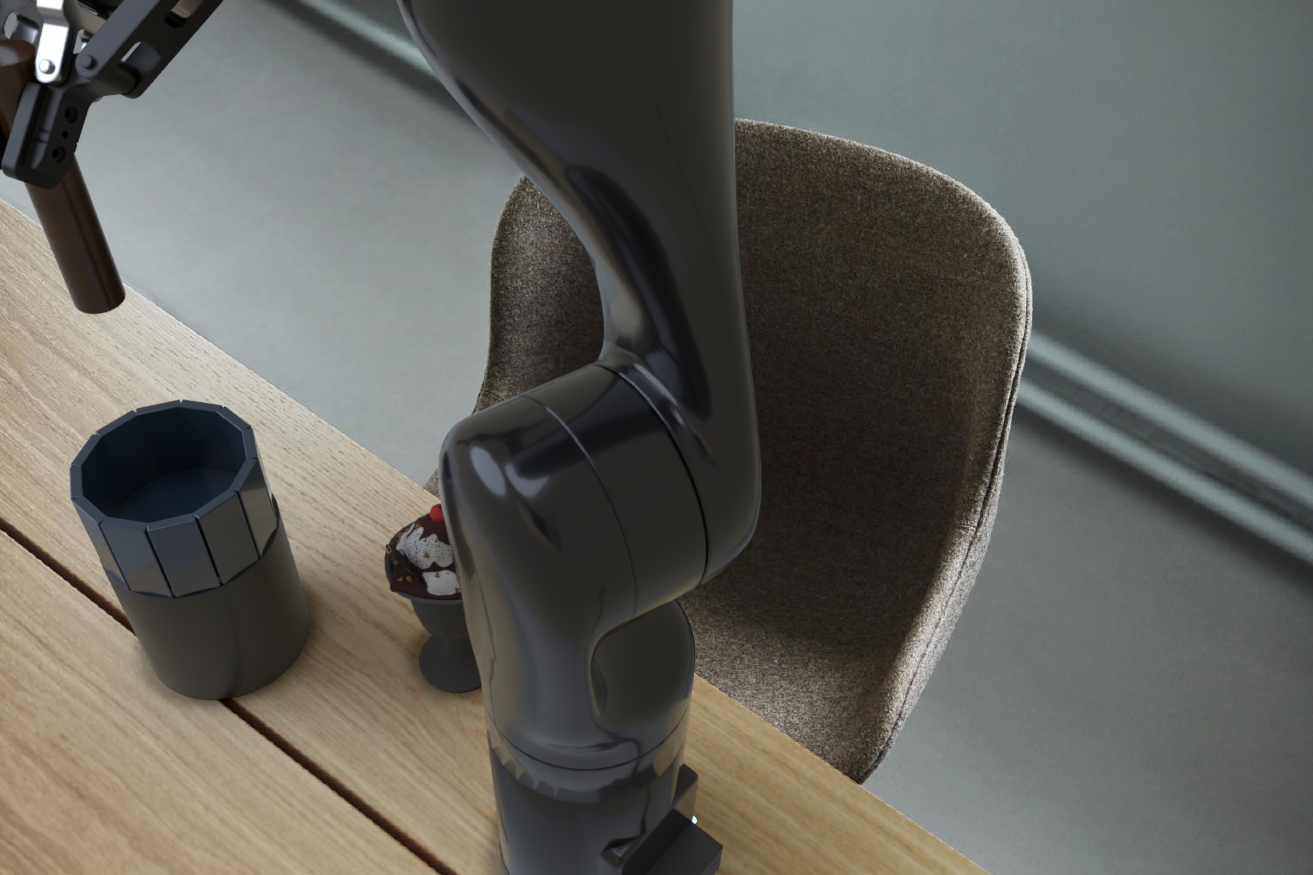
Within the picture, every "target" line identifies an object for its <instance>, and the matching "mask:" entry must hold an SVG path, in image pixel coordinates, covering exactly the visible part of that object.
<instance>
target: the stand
mask: <svg viewBox="0 0 1313 875" xmlns="http://www.w3.org/2000/svg"><path fill="white" fill-rule="evenodd" d="M272 495H273V501H274V506H275V511H276V516H277V521H278V522H277V527H276V529H275V531H274V533H273V535H272V537H271V539H270V541H269V543H268V545H267V547H266V549H265V551H264V553H263V554H262V556H261V557H258V561H256V562H255V563H253V564H252V565H251V566H249V567H248V568H246V569H245V570H244V571H242V572H241V573H239V574H238V575H237V576H235V577H234V578H233V579H231V580H230V581H228V582H227V583H226V584H220V587H216V588H212V589H208V590H204V591H200V592H196V593H192V594H188V595H184V596H180V597H175V596H173V598H170V597H164V596H157V595H151V594H145V593H139V592H133V591H131V589H130V590H128V589H127V588H126V587H125V586H124V585H123V584H122V583H121V582H119V581H118V580H117V579H116V578H115V577H114V576H113V575H112V574H111V573H110V572H109V571H107V570H106V569H105V568H104V566H103V564H102V562H101V560H100V559H99V562H100V564H101V567H102V570H103V572H104V573H105V575H106V577H107V579H108V581H109V584H110V586H111V587H112V589H113V592H114V594H115V596H116V597H117V600H118V601H119V604H120V606H121V608H122V610H123V612H124V614H125V616H126V619H127V620H128V622H129V624H130V626H131V628H132V630H133V632H134V635H135V636H136V638H137V640H138V642H139V644H140V646H141V649H142V651H143V652H144V655H145V656H146V658H147V659H146V660H147V661H148V662H149V665H150V667H151V669H152V670H153V672H154V673H155V675H156V677H157V678H158V679H159V681H161V683H162V684H164V685H165V686H166V687H168V688H169V689H170V690H172V691H174V692H176V693H178V694H181V695H183V696H186V697H188V698H193V699H196V700H197V699H198V700H207V701H209V700H213V701H214V700H225V699H231V698H236V697H240V696H243V695H246V694H249V693H251V692H254V691H256V690H259V689H261V688H263V687H264V686H267V685H268V684H270V683H271V682H273V681H275V680H276V679H277V678H278V677H280V676H281V675H282V674H283V673H284V672H285V671H287V669H289V667H290V666H292V664H293V663H294V662H295V661H296V660H297V658H298V657H299V655H300V654H301V652H302V651H303V648H304V647H305V644H306V642H307V639H308V637H309V633H310V628H311V613H310V609H309V606H308V602H307V598H306V595H305V592H304V591H305V590H304V588H303V585H302V582H301V579H300V578H301V577H300V574H299V572H298V568H297V564H296V561H295V557H294V554H293V551H292V548H291V545H290V541H289V538H288V534H287V531H286V527H285V525H284V521H283V517H282V514H281V510H280V507H279V504H278V501H277V499H276V497H275V495H274V493H273V492H272Z"/></svg>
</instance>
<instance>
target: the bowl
mask: <svg viewBox="0 0 1313 875" xmlns="http://www.w3.org/2000/svg"><path fill="white" fill-rule="evenodd" d="M68 472H69V493H70V496H69V498H70V501H71V503H72V505H73V507H74V510H75V511H76V513H77V515H78V517H79V519H80V521H81V524H82V525H83V527H84V529H85V532H86V534H87V536H88V537H89V539H90V542H91V544H92V545H93V546H92V547H94V549H95V552H96V554H97V556H98V558H99V561H100V560H101V562H102V564H103V566H104V568H105V569H106V570H107V571H109V572H110V573H111V574H112V575H113V576H114V577H115V578H116V579H117V580H118V581H119V582H121V583H122V584H123V585H124V586H125V587H126V588H127V589H128V590H130V589H131V591H133V592H139V593H145V594H151V595H157V596H164V597H170V598H173V596H175V597H180V596H184V595H188V594H192V593H196V592H200V591H204V590H208V589H212V588H216V587H220V584H226V583H227V582H228V581H230V580H231V579H233V578H234V577H235V576H237V575H238V574H239V573H241V572H242V571H244V570H245V569H246V568H248V567H249V566H251V565H252V564H253V563H255V562H256V561H258V557H261V556H262V554H263V553H264V551H265V549H266V547H267V545H268V543H269V541H270V539H271V537H272V535H273V533H274V531H275V529H276V527H277V522H278V521H277V516H276V511H275V506H274V501H273V495H274V494H273V495H272V493H273V491H272V490H271V488H272V487H271V485H270V481H269V479H268V476H267V472H266V469H265V465H264V461H263V458H262V455H261V452H260V448H259V445H258V441H257V438H256V435H255V432H254V428H252V425H251V424H249V423H248V422H247V421H245V420H244V419H243V418H242V417H240V416H239V415H237V414H236V413H235V412H234V411H233V410H231V409H229V407H227V406H225V405H224V406H223V405H222V404H217V403H211V402H204V401H197V400H191V399H181V400H180V399H175V400H170V401H165V402H160V403H155V404H151V405H145V406H142V407H137V408H135V410H134V409H131V410H129V411H128V412H126V413H124V414H123V415H121V416H119V417H117V418H116V419H114V420H112V421H111V422H109V423H107V424H106V425H104V426H102V427H100V428H99V429H97V430H95V431H94V433H92V434H91V435H90V436H89V438H88V439H87V440H86V442H85V443H84V445H83V446H82V448H81V449H80V450H79V451H78V453H77V454H76V456H75V457H74V459H73V460H72V461H71V463H70V467H69V471H68ZM101 562H100V563H101ZM102 564H101V565H102Z"/></svg>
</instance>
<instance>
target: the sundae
mask: <svg viewBox="0 0 1313 875" xmlns="http://www.w3.org/2000/svg"><path fill="white" fill-rule="evenodd" d="M383 560H384V562H383V563H384V572H385V577H386V580H387V582H388V584H389V590H390V592H391V593H396V594H397V595H399V596H400V597H402V598H404V599H407V600H409V601H410V603H411V606H412V608H413V611H414V613H415V615H416V617H417V618H418V620H419V622H420V624H421V625H422V627H423V628H424V630H426V632H427V633H428V634H430V636H429V638H428V639H427V640H426V641H425V642H424V644H423V645H422V648H421V650H420V654H419V661H418V662H419V667H420V671H421V674H422V675H423V677H424V678H425V679H426V681H427V682H428V683H429V684H430V685H432V686H434V687H435V688H437V689H439V690H442V691H445V692H450V693H463V692H468V691H472V690H475V689H477V688H479V687H481V679H480V674H479V670H478V667H477V663H476V660H475V656H474V652H473V649H472V645H471V642H470V638H469V634H468V629H467V625H466V621H465V616H464V611H463V605H462V599H461V592H460V586H459V582H458V577H457V572H456V567H455V562H454V558H453V554H452V550H451V546H450V542H449V537H448V533H447V529H446V525H445V521H444V516H443V511H442V506H441V503H436V504H434V505H432V506H431V508H430V511H429V512H427V513H424V514H423V515H420V516H419V517H418V518H416V520H414V521H412V522H410V523H409V524H407V525H405V526H403V527H402V528H401V529H400V530H399V531H397V532H396V533H395V534H394V535H393V536H392V537H391V539H390V540H389V542H388V543H386V544H385V554H384V558H383Z"/></svg>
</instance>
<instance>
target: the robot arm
mask: <svg viewBox="0 0 1313 875" xmlns="http://www.w3.org/2000/svg"><path fill="white" fill-rule="evenodd" d="M223 2H224V0H0V40H5V39H20V40H25V41H28V42H30V43H32V44H33V45H34V46H35V48H36V50H37V56H36V60H35V65H34V73H35V76H36V78H37V79H38V80H39V81H40V82H39V84H36V83H33V82H30V81H26V84H25V88H24V91H23V94H22V97H21V101H20V104H19V107H18V110H17V114H16V117H15V120H14V124H13V127H12V130H11V133H10V137H9V140H8V143H7V141H6V138H5V136H4V133H3V131H2V128H1V126H0V171H2V173H3V175H4V176H6V177H8V178H10V179H13V180H16V181H19V182H22V183H24V182H25V183H28V184H31V185H34V186H37V187H40V188H44V189H47V190H51V189H54V188H55V187H56V186H57V185H58V183H59V181H60V178H62V179H63V178H64V176H65V175H66V174H67V172H68V171H69V169H70V168H71V164H72V161H73V158H74V153H76V151H77V147H78V144H79V142H80V140H81V139H80V138H81V135H82V132H83V128H84V126H85V122H86V119H87V116H88V112H89V109H90V107H91V105H92V104H95V103H99V102H100V101H101V100H102V99H103V98H104V97H109V96H110V97H111V96H118V95H121V96H123V97H124V98H127V99H129V100H135V99H138V98H140V97H141V96H142V95H144V93H145V92H146V91H147V90H148V88H150V86H151V85H152V84H153V82H155V81H156V79H157V78H158V77H159V76H160V75H161V73H162V72H163V71H164V70H165V69H166V68H167V67H168V65H169V64H170V63H171V62H172V61H173V60H174V59H175V57H176V56H177V55H178V54H179V53H180V52H181V51H182V50H183V48H184V47H185V46H186V45H187V44H188V42H190V41H191V39H192V38H193V36H195V34H196V33H197V32H198V31H199V30H200V29H201V28H202V26H203V25H204V24H205V23H206V22H207V21H208V20H209V18H210V17H211V16H212V15H213V14H214V12H216V10H217V9H218V8H219V7H220V5H221V4H222V3H223ZM396 4H397V6H398V9H399V12H400V15H401V17H402V21H403V23H404V25H405V27H406V29H407V31H408V33H409V34H410V36H411V38H412V40H413V41H414V44H415V46H416V47H417V49H418V51H419V52H420V53H421V55H422V57H423V59H424V60H425V61H426V63H427V65H428V66H429V68H430V69H431V71H432V72H433V73H434V75H435V76H436V78H438V80H439V81H440V83H441V84H442V85H443V87H444V88H445V89H446V90H447V92H448V93H449V94H450V96H452V97H453V99H454V100H455V101H456V102H457V103H458V104H459V106H460V107H461V108H462V109H463V110H464V112H465V113H466V114H467V115H468V116H469V117H470V119H471V120H472V121H473V122H474V124H476V125H477V127H478V128H479V129H480V130H481V131H482V132H483V133H484V134H485V135H486V136H487V137H488V138H489V139H490V140H491V141H492V142H493V143H494V145H495V146H496V147H497V148H498V149H499V150H500V151H501V152H502V153H503V154H504V155H505V156H506V157H507V158H508V159H509V160H510V162H511V163H512V164H513V165H515V167H517V169H518V170H519V171H520V172H522V174H523V175H524V176H525V177H526V178H527V179H528V180H529V181H530V182H531V183H532V184H533V185H534V186H535V187H536V188H537V189H538V191H540V192H541V193H542V194H543V196H544V197H545V199H547V201H548V202H549V203H550V204H551V205H552V206H553V207H554V209H555V210H556V211H557V212H558V213H559V214H560V216H561V217H562V218H563V219H564V220H565V221H566V223H567V225H568V226H569V227H570V229H571V230H572V231H573V233H574V234H575V235H576V237H577V239H578V241H579V242H580V243H581V244H582V246H583V247H584V250H585V251H586V253H587V255H588V258H589V260H590V264H591V266H592V268H593V272H594V276H595V279H596V283H597V284H596V285H597V287H598V292H599V298H600V303H601V309H602V310H601V311H602V319H603V320H602V321H603V342H602V347H601V350H600V352H599V355H598V356H597V358H596V360H595V361H593V362H591V363H588V364H587V365H585V366H581V367H579V368H575V370H572V371H569V372H567V373H565V374H563V375H560V376H558V377H556V378H553V379H550V380H548V381H546V382H544V383H542V384H539V385H536V386H535V387H532V388H530V389H527V390H525V391H523V392H521V393H518V394H516V395H513V396H512V397H510V398H506V399H505V400H502V401H500V402H498V403H495V404H493V405H491V406H489V407H486V408H484V409H482V410H479V411H477V412H475V413H473V414H471V415H468V416H466V417H464V418H463V419H461V420H459V421H458V422H457V423H456V424H454V425H453V426H452V427H451V428H450V429H449V431H448V432H447V434H446V435H445V437H444V439H443V441H442V444H441V447H440V451H439V455H438V464H437V478H438V479H437V480H438V481H437V482H438V495H439V500H440V504H441V506H442V511H443V516H444V521H445V525H446V529H447V533H448V537H449V542H450V546H451V550H452V554H453V558H454V562H455V567H456V572H457V577H458V582H459V586H460V592H461V599H462V605H463V611H464V616H465V621H466V625H467V629H468V634H469V638H470V642H471V645H472V649H473V652H474V656H475V660H476V663H477V667H478V670H479V674H480V679H481V686H480V687H481V694H482V703H483V710H484V718H485V726H486V738H487V745H488V754H489V760H490V762H489V763H490V769H491V777H492V778H491V779H492V786H493V794H494V802H495V809H496V810H495V811H496V818H497V828H498V834H499V856H500V863H501V864H500V865H501V870H502V874H503V875H716V873H718V871H719V870H720V865H721V860H722V855H723V849H724V845H723V844H722V843H721V842H719V841H718V840H716V839H715V838H714V837H713V836H712V835H710V834H709V833H708V832H706V831H705V830H704V829H702V828H701V827H700V826H698V825H697V824H696V823H697V821H698V820H697V818H696V817H695V815H694V814H695V809H696V802H697V795H698V789H699V780H700V777H699V774H698V772H697V771H695V770H694V769H693V768H692V767H690V766H689V765H687V764H686V763H684V760H685V751H686V743H687V734H688V727H689V720H690V712H691V711H690V710H691V703H692V694H693V687H694V679H695V673H696V672H695V671H696V643H695V642H696V641H695V636H694V633H693V629H692V626H691V624H690V620H689V618H688V616H687V614H686V611H685V610H684V608H683V606H682V605H681V603H680V602H679V601H678V598H680V597H682V596H683V595H685V594H687V593H689V592H691V591H693V590H694V589H697V588H698V587H700V586H701V585H703V584H705V583H707V582H709V581H711V580H712V579H714V578H715V577H717V576H718V575H720V574H721V573H723V572H724V571H726V570H727V569H728V568H730V566H731V565H732V564H734V563H735V562H736V561H737V560H738V559H739V558H740V557H741V556H742V555H743V554H744V553H745V552H746V551H747V549H748V548H749V546H750V545H751V543H752V541H753V540H754V536H755V534H756V531H757V528H758V526H759V525H758V524H759V520H760V514H761V509H762V496H763V464H762V463H763V462H762V449H761V448H762V447H761V439H760V438H761V437H760V428H759V416H758V408H757V399H756V398H757V397H756V390H755V382H754V381H755V380H754V372H753V363H752V355H751V346H750V338H749V329H748V321H747V312H746V304H745V303H746V302H745V294H744V285H743V275H742V264H741V262H742V261H741V252H740V237H739V236H740V234H739V212H738V185H737V167H736V166H737V164H736V130H735V129H736V125H735V123H736V122H735V121H736V120H735V81H734V80H735V78H734V75H735V74H734V73H735V72H734V0H396ZM12 14H14V15H15V17H16V21H15V23H14V24H15V25H14V27H13V29H12V31H11V34H10V36H9V37H8V36H6V31H5V30H6V29H5V26H6V23H7V21H8V18H9V16H11V15H12ZM78 37H79V38H80V42H81V45H80V49H79V52H75V49H76V43H77V38H78ZM138 43H139V44H138ZM136 44H138V45H137V46H136V47H135V49H134V50H133V51H132V52H131V53H130V54H129V55H128V56H127V58H126V59H125V60H123V59H124V58H125V56H126V55H127V54H128V53H129V52H130V51H131V49H133V47H134V46H135V45H136ZM74 52H75V53H74Z"/></svg>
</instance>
